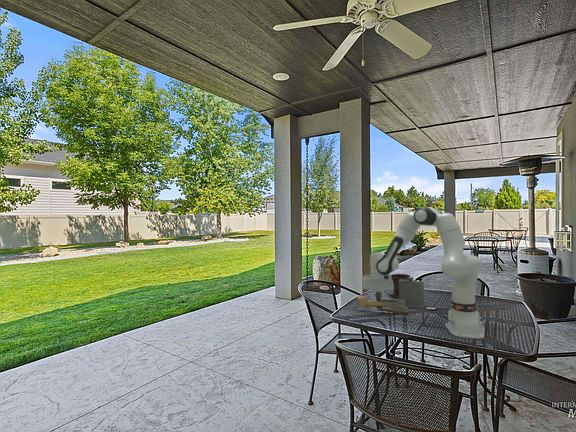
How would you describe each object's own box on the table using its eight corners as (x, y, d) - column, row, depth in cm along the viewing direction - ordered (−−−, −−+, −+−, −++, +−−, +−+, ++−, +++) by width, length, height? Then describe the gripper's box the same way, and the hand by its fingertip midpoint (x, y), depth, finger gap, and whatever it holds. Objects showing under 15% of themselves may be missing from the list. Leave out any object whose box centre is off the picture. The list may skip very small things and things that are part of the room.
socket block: (366, 307, 207) (365, 298, 207) (357, 307, 209) (357, 298, 209) (367, 304, 213) (367, 296, 213) (359, 304, 215) (359, 295, 215)
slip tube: (386, 306, 203) (386, 292, 203) (361, 305, 209) (361, 291, 209) (387, 305, 206) (386, 291, 206) (362, 303, 212) (362, 290, 212)
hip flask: (425, 307, 207) (423, 277, 206) (424, 309, 203) (422, 278, 203) (400, 304, 215) (399, 275, 215) (398, 306, 212) (397, 276, 212)
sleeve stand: (408, 314, 193) (407, 304, 193) (356, 310, 205) (355, 300, 205) (408, 308, 206) (408, 298, 206) (359, 304, 218) (359, 295, 218)
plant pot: (388, 298, 230) (387, 277, 230) (392, 293, 244) (391, 273, 243) (410, 300, 223) (409, 278, 223) (412, 295, 237) (411, 274, 236)
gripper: (360, 276, 208) (361, 296, 208) (393, 277, 200) (394, 298, 200) (362, 274, 214) (363, 294, 214) (393, 275, 206) (394, 295, 206)
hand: (378, 296), depth 207 cm, fingers open, 3 cm apart
